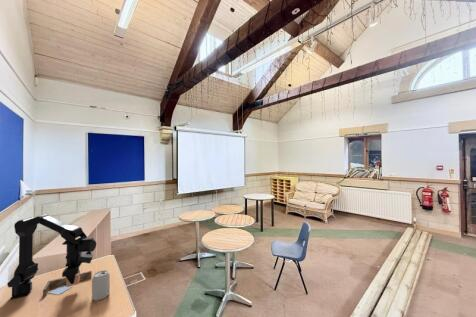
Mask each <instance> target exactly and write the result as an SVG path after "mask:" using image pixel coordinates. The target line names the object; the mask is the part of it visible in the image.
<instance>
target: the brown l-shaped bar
mask: <svg viewBox="0 0 476 317" xmlns="http://www.w3.org/2000/svg"><path fill="white" fill-rule="evenodd" d="M92 274H93V272H92V270H89V271H85V272H80V281H82V280H86V279H92V278H93V275H92ZM62 285H66V277H60V278H56V279H55V278H54V279H51V280H48V281H47V283H46V285H45V286H44V287H43V289H42V297H46V296H47V295H48V294H49V291H50V289H52V288H55V287H56V288H57V287H60V286H62Z"/></svg>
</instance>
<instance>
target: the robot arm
mask: <svg viewBox="0 0 476 317" xmlns="http://www.w3.org/2000/svg"><path fill="white" fill-rule="evenodd" d="M39 224H40V225H42V226H43V227H46V228H48V229H50V230H52V231H54V232H57V233H58V234H59V235H60V237H61V238H63V239H64V240H65V241H63V242H62V244H61V245H63V246H65V245H66V256H65V259H66V263H65V268H64V269H63V271H62V274H61V278H63V277H66V278H67V279H68V281H69V282H70V283H71V284H74V280H75V275H76V274H77V273H78V272H79V271H80V267H81V266H82V263H83V264H91V263H92V260H93V257H94V253H92V252H94V251H95V249H96V248H97V241H96V240H94V239H95V238H94V237H90V238H88V236H87V234H86V233H85V232H84V230H83V228H82V227H80V226H76V225H73V224H72V225H71V224H70V225H69V224H67V223H64V222H62V221H60V220H58V219H56V218H54V217H52V216H50V215H49V214H47V213H45V214H41V215H37V216H35V217H34V216H33V217H32V216H31V217H27V218H23V219H20V220H17V221H16V222H15V223H14V225H13V226H14V232H15V234H16V235H17V236H18V237H19V239H18V240H19V241H18V244H19V245H18V246H19V247H18V248H19V250H18V265H17V267H16V268H15V270H14V273H13V277H12V278H11V279H10V280H9V281H8V282H7V284H6V285H7V287H8V288H11V297H10V298H9V299H10V300H14V299H13V298H15V299H18V298H22V297H25V296H29V294H30V292H32V290H33V282H32V279H34V278H35V275H36V274H37V272H38V271H39V266H38V265H39V263H38V262H36V263H35V261H33V255H34V254H33V251H34V250H33V249H34V248H33V247H34V246H33V245H34V243H33V242H34V233H35V232H36V230H37V228H38V225H39Z"/></svg>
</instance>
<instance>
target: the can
mask: <svg viewBox="0 0 476 317" xmlns="http://www.w3.org/2000/svg"><path fill="white" fill-rule="evenodd" d="M110 276H111V275H110V273H109V271H108V270H106V269H104V270H99V271H97V272H95V273H94V274H93V276H92V277H91V299H92V300H94V301H96V302H97V301H101V300H104V299H105V298H107V297H108V295H109V294H110V285H111V284H110V278H111V277H110Z"/></svg>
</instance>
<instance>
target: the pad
mask: <svg viewBox="0 0 476 317" xmlns="http://www.w3.org/2000/svg"><path fill="white" fill-rule="evenodd" d="M71 288H73V286H69V287H66V284H64V285H60V286H57V287H56V288H55V289H52V290H51V291H50V292H49V291H48V294H52V295H57V296H60V295H61V294H63V293H65V292H66V291H68V290H69V289H71Z"/></svg>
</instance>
